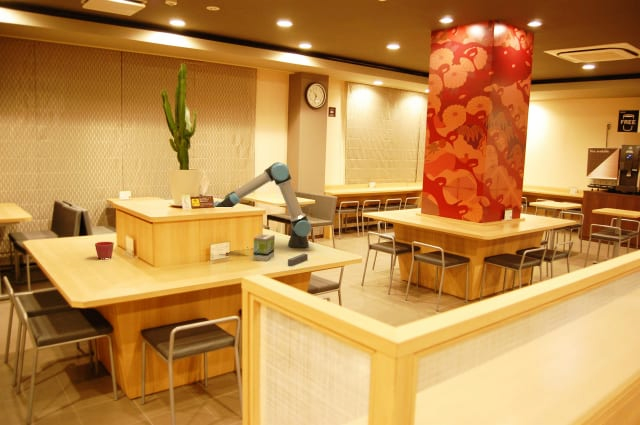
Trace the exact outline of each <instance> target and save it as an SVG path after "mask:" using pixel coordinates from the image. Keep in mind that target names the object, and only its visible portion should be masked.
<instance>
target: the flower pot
mask: <svg viewBox="0 0 640 425" xmlns="http://www.w3.org/2000/svg"><path fill="white" fill-rule="evenodd" d="M94 246H95V251H96V255H97V258H110V257H111V258H112V256H113V251H114V242H113V241H100V242H99V241H98V242H96V243H94ZM111 258H110V259H111Z"/></svg>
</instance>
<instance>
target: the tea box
mask: <svg viewBox="0 0 640 425" xmlns="http://www.w3.org/2000/svg"><path fill="white" fill-rule="evenodd" d="M275 238H276V236H275V235H273V234H259V235H257V236H255V237H253V255H252V256H253V258H252V259H253V261H257V262H258V261H259V262H260V261H261V262H262V261H263V262H268V261H269V260H271V259H272V258H274V257H275V245H276V244H275V242H276V241H275V240H276V239H275Z"/></svg>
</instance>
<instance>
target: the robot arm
mask: <svg viewBox="0 0 640 425" xmlns="http://www.w3.org/2000/svg"><path fill="white" fill-rule="evenodd" d="M291 181H292V177H291V174H290V169H289V167H288V166H287V165H286V164H285V163H282V162H274V163H273V164H271V165H269V167H267V168H266V169H264V171H263V172H261V174H259V175H257V176H255V177H254V178H252V179H250V181H248V182H246V183H245V184H243V185H242V186H239V187H238V188H236V189H235V190H233V191H232V192H230V193H227V194H226V195H225V197H224V199H223V200H221V201H218V200H217V201H215V202H213V203H214V205H215V207H232V208H234V206H236V205H237V204H239V202H241V200H242V199H243V198H245V197H247V196H248V195H250V194H252V193H253V192H255V191H257V190H258V189H260V188H262V187H263V186H264V185H267V184H268V183H270V182H271V183H272V182H274V183H275V185H276V186H278V188H279V190H280V192H281V196H282V197H283V198H282V199H284V203H285V205H286V208H287V210H288V213H289V215H290V220H289V221H290V237H289V240H288V243H287V247H289V248H292V249H296V248H297V249H305V248H308V247H309V246H310V243H309V240H308V235H309V234H310V233H311V231H312V225H311V223H310V222H309V220H308V219H309V218H308V216H307V214H306V213H303V210H302V208H301V206H300V202H299V200H298V197H297V195H296V192H295V191H294V187H293V185H292V183H291ZM248 246H249V245H248ZM248 246H247V248H248ZM248 249H249V248H248Z"/></svg>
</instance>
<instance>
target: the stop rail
mask: <svg viewBox="0 0 640 425" xmlns="http://www.w3.org/2000/svg"><path fill="white" fill-rule="evenodd" d="M308 256H309V255H308V253H301V254H298V255H296V256H294V257H291V258H288V259H287V266H288V267H294V266H297V265H299V264H301V263H304V262H307V261H308V258H309V257H308Z"/></svg>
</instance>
